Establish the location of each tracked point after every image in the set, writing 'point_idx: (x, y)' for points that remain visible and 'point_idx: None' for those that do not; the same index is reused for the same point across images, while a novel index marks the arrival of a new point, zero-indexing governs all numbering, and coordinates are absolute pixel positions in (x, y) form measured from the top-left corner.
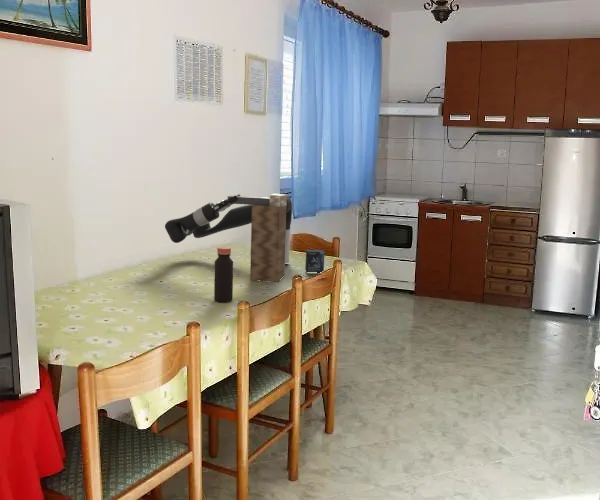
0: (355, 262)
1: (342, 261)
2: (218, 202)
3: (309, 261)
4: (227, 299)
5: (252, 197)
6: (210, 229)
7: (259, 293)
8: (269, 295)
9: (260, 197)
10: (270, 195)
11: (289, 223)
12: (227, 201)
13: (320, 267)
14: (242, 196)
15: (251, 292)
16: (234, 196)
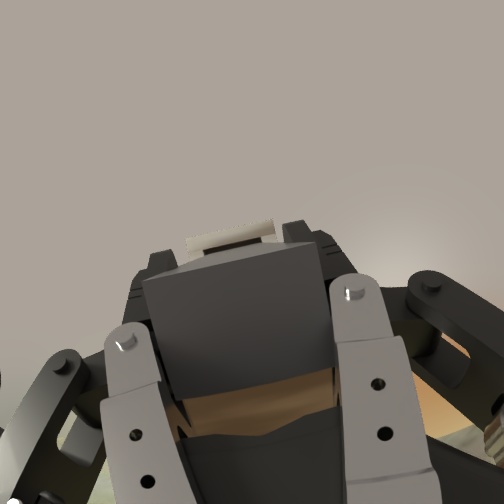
0: (58, 442)
1: None
2: (374, 490)
3: None
4: None
5: (252, 246)
6: None
7: (474, 447)
8: (467, 430)
9: (224, 251)
10: (271, 221)
11: (3, 429)
12: (391, 299)
13: None
14: (206, 259)
15: (484, 459)
16: (308, 232)
